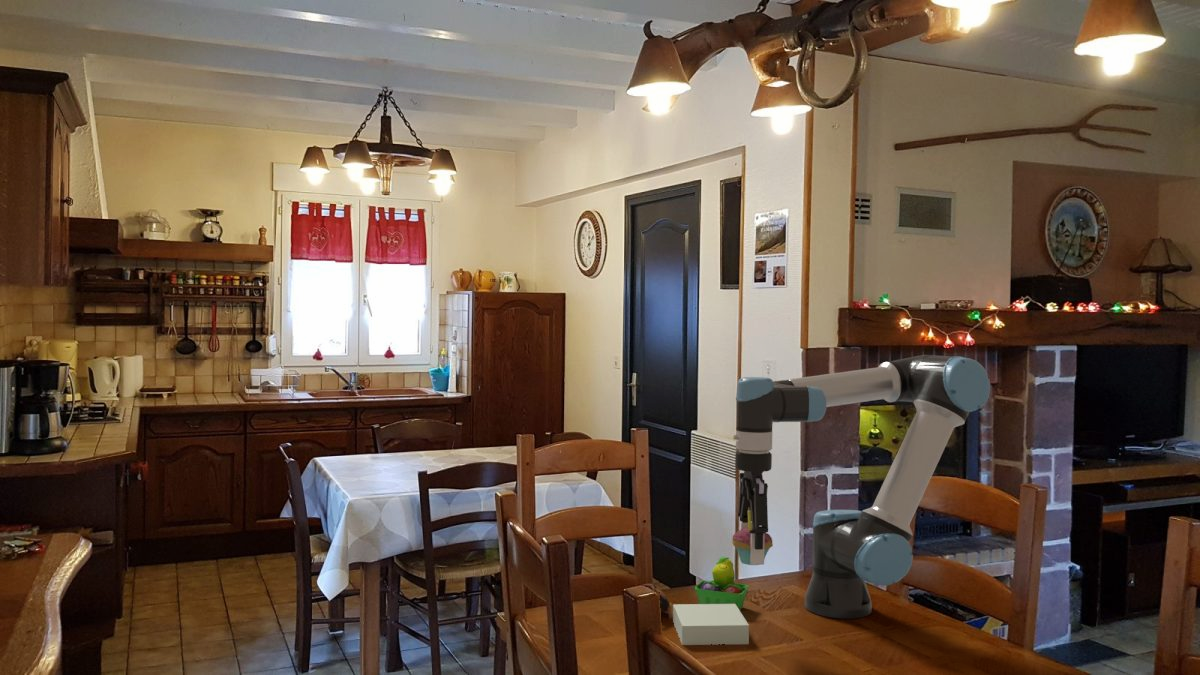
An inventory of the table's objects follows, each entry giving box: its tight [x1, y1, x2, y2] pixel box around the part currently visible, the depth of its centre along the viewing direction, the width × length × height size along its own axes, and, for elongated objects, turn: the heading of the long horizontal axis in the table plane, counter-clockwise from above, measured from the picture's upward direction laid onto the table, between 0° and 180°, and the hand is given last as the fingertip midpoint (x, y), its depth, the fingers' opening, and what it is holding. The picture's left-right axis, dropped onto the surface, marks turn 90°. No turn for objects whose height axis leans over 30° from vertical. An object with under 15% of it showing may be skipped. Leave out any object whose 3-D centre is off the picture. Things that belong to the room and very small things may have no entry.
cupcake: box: [731, 507, 774, 566], centre depth 191 cm, size 9×8×12 cm
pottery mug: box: [640, 583, 673, 619], centre depth 208 cm, size 12×10×8 cm
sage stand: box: [672, 603, 750, 646], centre depth 196 cm, size 14×14×4 cm
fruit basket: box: [694, 556, 749, 611], centre depth 213 cm, size 11×9×11 cm
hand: (751, 558), depth 191 cm, fingers closed on cupcake, 8 cm apart
